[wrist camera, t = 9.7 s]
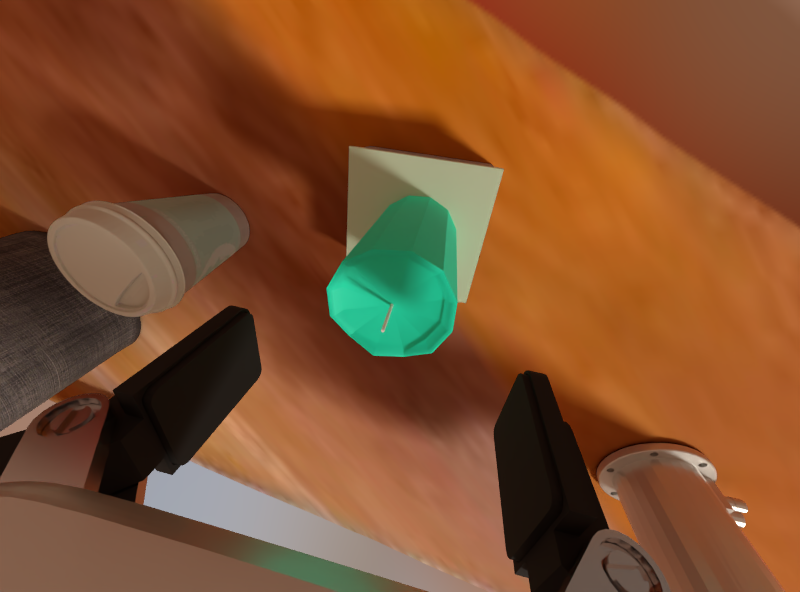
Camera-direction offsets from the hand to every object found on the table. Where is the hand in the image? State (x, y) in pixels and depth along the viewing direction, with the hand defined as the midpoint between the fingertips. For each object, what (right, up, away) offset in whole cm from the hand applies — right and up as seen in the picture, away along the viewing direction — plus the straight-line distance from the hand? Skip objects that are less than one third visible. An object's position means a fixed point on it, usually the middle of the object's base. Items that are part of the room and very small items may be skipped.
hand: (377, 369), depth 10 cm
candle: (+2, +7, +12) cm, 14 cm away
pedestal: (+3, +10, +16) cm, 19 cm away
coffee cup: (-17, +10, +20) cm, 28 cm away
